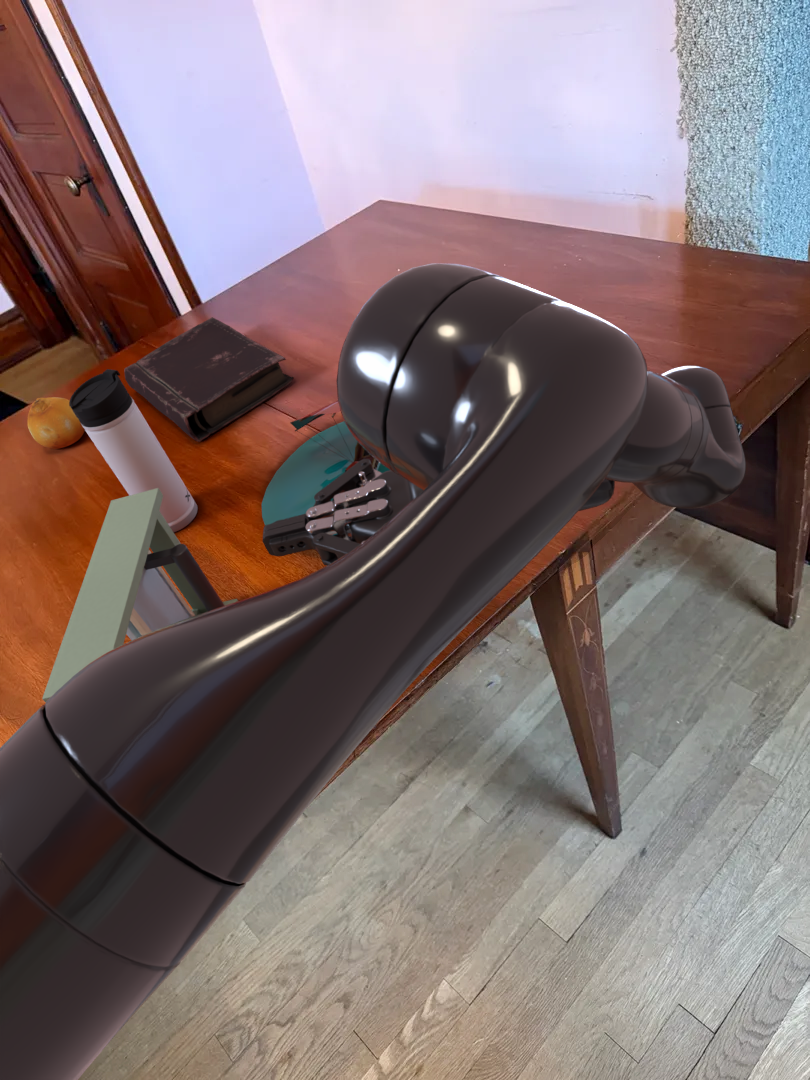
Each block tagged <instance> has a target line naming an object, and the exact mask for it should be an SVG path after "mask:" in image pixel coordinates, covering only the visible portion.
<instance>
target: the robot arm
mask: <svg viewBox="0 0 810 1080" xmlns="http://www.w3.org/2000/svg"><path fill="white" fill-rule="evenodd" d="M342 344H343V345H342V347H341V351H340V354H339V359H338V365H337V373H336V393H337V401H338V403H339V407H340V414H341V417H342V420H343V421H344V422H345V423H346V425H347V427H348V429H349V431H350V432H351V434H352V436H353V437H354V438H355V439H356V440H357V441H358V443H359V444H360V445H361V446H362V447H363V448H364V449H365V450H366V451H367V452H368V453H369V454H370V455H371V456H372V457H373V458H374V459H376V460H377V461H378V462H380V463H381V464H382V465H384V466H385V467H387V468H388V469H390V471H386V472H384V473H381V472H379V471H377V470H375V469H373V466H372V463H371V461H370V460H369V459H362V460H360V461H359V462H358V463H356V464H355V465H354V466H352V467H351V468H350V469H348V470H347V471H346V472H344V473H343V474H342V475H340V476H339V477H338V478H336V479H335V480H334V481H332V482H331V483H330V484H328V485H327V486H326V487H324V488H323V489H322V490H320V491H319V492H318V493H316V494H315V496H314V499H315V501H316V502H315V504H314V506H313V507H311V508H309V509H308V510H307V512H306V514H302V515H298V516H294V517H290V518H286V519H284V520H283V519H282V520H278V521H276V522H274V523H272V524H268V525H266V526H265V525H264V526H263V531H262V540H261V541H262V544H263V545H264V547H265V549H266V551H267V553H268V554H269V556H273V557H284V556H285V557H286V556H288V555H292V554H297V553H301V552H304V551H305V552H306V551H309V550H315V551H316V552H317V553H318V555H319V557H320V561H321V562H322V564H323V565H324V566H323V567H322V568H319V569H318V570H316V571H313V572H312V573H309V574H307V575H305V576H304V577H301V578H299V579H297V580H295V581H291V582H289V583H287V584H286V583H285V584H284V585H282V586H278V587H276V588H273V589H270V590H268V591H265V592H262V593H259V594H256V595H253V596H250V597H246V598H244V599H241V600H238V602H235V603H232V604H229V605H226V606H223V607H220V608H217V609H214V610H211V611H208V612H205V613H202V614H199V615H196V616H193V617H190V618H188V619H185V620H182V621H179V622H176V623H174V624H171V625H168V626H166V627H163V628H160V629H158V630H155V631H152V632H150V633H147V634H145V635H142V636H140V637H138V638H136V639H134V640H130V641H128V642H126V643H125V642H124V644H123V645H121V646H119V647H117V648H115V649H113V650H111V651H109V652H107V653H105V654H104V655H102V656H101V657H99V658H97V659H96V660H94V661H93V662H91V663H90V664H88V665H87V666H86V667H84V668H83V669H82V670H81V671H79V672H78V673H77V674H75V675H74V676H73V677H72V678H71V679H70V680H69V681H68V682H66V683H65V684H64V685H63V686H62V687H61V688H60V689H59V690H58V691H57V692H56V693H54V694H53V695H52V696H51V697H50V698H49V699H48V700H47V702H44V703H45V704H42V705H41V706H40V707H39V708H38V709H37V710H36V711H35V712H34V713H33V714H32V715H31V716H30V717H29V718H27V720H26V721H25V722H24V723H23V724H22V725H21V726H20V727H19V728H18V729H17V730H16V731H15V732H14V733H13V734H12V735H11V736H10V737H9V739H7V740H6V741H5V743H3V744H2V745H1V746H0V1080H79V1079H80V1078H81V1077H82V1075H83V1074H84V1073H85V1072H86V1070H88V1068H89V1067H90V1066H91V1064H92V1063H93V1062H94V1061H95V1060H96V1059H97V1058H98V1056H99V1055H100V1054H101V1053H102V1052H103V1050H105V1048H106V1047H107V1046H108V1045H109V1044H110V1042H111V1041H112V1040H113V1039H114V1038H115V1037H116V1036H117V1034H119V1032H120V1031H121V1030H122V1029H123V1028H124V1027H125V1025H126V1024H127V1023H128V1022H129V1021H130V1020H131V1019H132V1018H133V1016H134V1015H135V1014H136V1013H137V1012H138V1011H139V1010H140V1009H141V1008H142V1006H144V1004H145V1003H146V1002H147V1001H148V1000H149V999H150V997H151V996H152V995H154V993H156V991H157V989H159V988H160V987H161V985H162V984H163V983H164V982H165V981H166V980H167V979H168V977H169V976H170V975H171V974H172V973H173V972H174V971H175V970H176V969H177V967H178V966H179V965H180V964H181V963H182V961H184V960H185V958H186V957H187V956H188V955H189V953H190V952H191V951H192V950H193V949H194V947H195V946H196V945H197V944H198V943H199V942H200V941H201V939H202V938H203V937H204V936H205V935H206V933H207V932H208V931H209V930H210V929H211V928H212V926H213V925H214V924H215V923H216V921H218V919H219V918H220V917H221V915H222V914H224V912H225V911H226V910H227V908H228V907H229V906H230V905H231V904H232V903H233V901H234V900H235V899H236V898H237V897H238V895H239V894H240V893H241V892H242V891H243V889H244V888H245V887H246V885H247V883H249V882H250V881H251V880H252V879H253V877H254V876H255V875H256V874H257V872H258V871H259V870H260V869H261V867H262V866H263V864H264V863H265V862H266V861H267V860H268V858H269V857H270V856H271V854H272V853H273V852H274V850H275V849H276V848H277V847H278V845H279V844H280V843H281V842H282V841H283V839H284V837H285V836H286V835H287V834H288V833H289V831H290V830H291V829H292V828H293V827H294V825H295V824H296V823H297V821H298V820H299V819H300V818H301V816H302V815H303V814H304V813H305V811H306V810H307V808H308V807H309V806H310V805H311V804H312V802H313V801H314V800H315V799H316V798H317V796H318V795H319V794H320V793H321V791H322V790H323V789H324V788H325V786H326V785H327V784H328V783H329V781H330V780H331V779H332V778H333V777H334V776H335V774H336V773H337V772H338V770H339V769H340V768H341V767H342V766H343V765H344V763H345V762H346V761H347V760H348V759H349V757H350V756H351V754H353V752H354V751H356V749H357V747H358V746H359V745H360V744H361V743H362V741H363V740H364V739H365V738H366V737H367V736H368V734H370V732H371V731H372V730H373V729H374V727H375V726H376V725H377V724H378V723H379V721H381V719H383V717H384V716H385V715H386V714H387V712H388V711H389V710H390V709H391V708H392V707H393V705H394V704H395V703H397V701H398V699H400V697H401V696H402V695H403V694H404V692H406V690H407V689H408V688H409V687H410V686H411V685H412V684H413V682H414V681H416V679H417V678H418V677H419V676H420V675H421V674H422V673H423V672H424V671H425V669H427V667H428V666H429V665H430V664H431V663H432V662H433V661H434V660H435V659H436V658H438V656H439V655H440V654H441V653H442V652H443V651H444V650H445V649H446V648H447V647H448V645H450V644H451V642H452V641H454V639H456V637H458V635H459V634H460V633H461V632H462V631H463V630H464V629H465V628H466V627H467V626H468V625H469V624H470V623H471V622H473V620H474V619H475V618H476V617H477V616H478V615H479V614H480V613H481V612H482V611H483V610H484V609H485V608H486V607H487V606H488V605H489V604H490V603H491V602H492V601H493V600H494V599H495V598H496V597H497V596H498V595H499V594H500V593H501V592H502V591H503V590H504V589H505V588H506V587H507V586H508V585H510V583H511V582H512V581H513V580H514V579H515V577H517V576H518V575H519V574H520V573H521V572H522V571H523V570H524V569H525V568H526V567H527V566H528V565H529V564H530V563H531V562H532V561H533V560H534V558H536V557H537V556H538V555H539V554H540V553H541V552H542V551H543V550H544V549H545V547H547V545H548V544H549V543H550V542H551V541H552V540H553V539H554V538H555V537H556V536H557V535H558V534H559V533H560V532H561V531H562V530H563V528H564V527H565V526H566V525H567V524H568V523H570V521H571V520H572V519H573V518H574V517H575V516H576V514H577V513H578V512H582V511H585V510H590V509H594V508H597V507H600V506H603V505H604V504H606V503H608V502H609V501H610V500H612V498H613V496H614V493H615V488H616V482H617V483H618V482H619V483H623V484H624V483H625V484H633V485H634V486H635V487H636V488H637V489H638V490H639V491H640V492H641V493H642V494H643V495H645V496H646V497H647V498H648V499H650V500H652V501H653V502H655V503H657V504H659V505H663V506H666V507H670V508H675V509H698V508H705V507H709V506H712V505H715V504H717V503H720V502H722V501H724V500H726V499H727V498H729V497H731V496H732V495H733V494H734V493H735V492H736V491H737V490H738V489H739V488H740V486H741V485H742V483H743V481H744V479H745V476H746V471H747V461H746V456H745V451H744V448H743V445H742V444H743V443H742V441H741V437H740V434H739V430H738V427H737V423H736V419H735V416H734V411H733V409H732V407H731V401H730V398H729V394H728V390H727V387H726V384H725V382H724V380H723V378H722V377H721V376H720V375H719V373H717V372H716V371H714V370H712V369H710V368H707V367H705V366H699V365H682V366H677V367H674V368H670V369H668V370H666V371H664V372H661V373H658V372H656V371H652V370H650V369H648V363H647V361H646V360H647V359H646V358H645V356H644V353H643V351H642V350H641V347H640V346H639V344H638V343H637V341H635V340H634V338H632V337H631V335H630V334H628V333H626V332H625V331H624V330H622V329H621V328H620V327H618V326H617V325H615V324H613V323H611V322H609V321H608V320H607V319H605V318H602V317H600V316H599V315H596V314H594V313H592V312H590V311H587V310H585V309H583V308H581V307H578V306H576V305H573V304H571V303H568V302H566V301H564V300H563V299H559V298H557V297H555V296H552V295H550V294H547V293H544V292H543V291H539V290H537V289H535V288H531V287H529V286H528V285H524V284H521V283H520V282H517V281H514V280H512V279H509V278H506V277H503V276H501V275H499V274H496V273H494V272H491V271H487V270H484V269H480V268H477V267H475V266H470V265H465V264H461V263H448V262H447V263H445V262H444V263H441V262H439V263H438V262H436V263H435V262H432V263H427V264H424V265H419V266H413V267H411V268H409V269H407V270H405V271H403V272H401V273H399V274H397V275H395V276H393V277H392V278H390V279H389V280H388V281H386V282H385V283H384V284H382V285H381V286H380V287H379V288H377V289H376V291H374V293H373V294H372V295H371V296H370V297H369V299H367V301H365V303H364V304H363V305H362V307H361V308H360V310H359V311H358V313H357V315H356V317H355V318H354V319H353V322H352V323H351V325H350V328H349V330H348V332H347V335H346V337H345V339H344V341H343V343H342ZM339 493H340V494H339ZM332 498H333V500H332V501H331V499H332ZM334 534H337V535H334Z"/></svg>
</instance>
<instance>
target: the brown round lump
mask: <svg viewBox="0 0 810 1080" xmlns="http://www.w3.org/2000/svg"><path fill="white" fill-rule="evenodd" d="M69 402H70V399H67V398H64V397H57V396H52V397H37V398H36V399H35V401H33V403H32V404H31V405H30V409H29V411H28V414H27V417H26V419H27V420H26V421H27V423H26V424H27V428H28V429H27V430H28V431H29V433H30V435H31V437H32V438H33V440H34V441H35V442H36V443H37V444H38V445H41V446H42V447H44V448H46V449H51V450H52V449H53V450H54V449H55V450H59V449H63V448H67V447H69V446H71V445H74V444H75V443H77V442H78V441H79V440H80V439H81V438H82V437H83V435H84V433H85V432H86V431H85V429H84V428H83V426H82V425H81V423H80V421H79V419H78V418H77V417H76V415H75V414H74V412H73V410H72V409H71V407H70V406H69Z"/></svg>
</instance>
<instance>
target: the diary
mask: <svg viewBox="0 0 810 1080" xmlns="http://www.w3.org/2000/svg"><path fill="white" fill-rule="evenodd" d="M286 360H287V358H286V357H284V355H283V356H282V355H281V354H280V353H277V352H275V351H274V350H272V349H270V348H268V347H266V346H264V345H263V344H260V343H259V342H257V341H255V340H253V339H251V338H249V337H247V336H246V335H244V334H242V333H241V332H240V331H238V330H237V329H235V328H233V327H232V326H230V325H228V324H227V323H225V322H223V321H220V320H219V319H217V318H215V317H214V316H212V317H210V318H208V319H206V320H204V321H202V322H200V323H199V324H196V325H195V326H194V327H192V328H189V329H187V330H186V331H184V332H182V333H180V334H179V335H176V336H175V337H174V338H172V339H170V340H168V341H166V342H165V343H164V344H162V345H160V346H158V347H157V348H155V349H154V350H152V351H151V352H149V353H148V354H146V355H144V356H143V357H141V358H140V359H138V360H137V361H135V362H134V363H132V364H130V365H128V366H126V367H125V368H124V370H123V371H124V379H125V381H126V383H127V385H128V386H129V387H130V388H131V389H132V390H134V391H135V392H136V393H138V394H139V395H140V396H142V397H143V398H144V399H145V400H146V401H147V402H149V403H150V405H152V406H153V407H154V408H155V409H156V410H157V411H159V412H160V413H162V415H164V416H165V417H166V418H168V419H169V420H170V421H172V422H173V423H174V424H175V425H176V426H177V427H179V429H180V430H181V431H183V432H184V433H185V434H186V435H187V436H189V438H191V439H193V440H194V441H196V442H198V443H200V442H202V441H203V440H205V439H206V438H207V437H209V436H210V435H211V434H212V435H213V434H214V433H216V432H217V431H219V430H220V429H222V428H223V427H225V426H227V425H229V424H231V422H233V421H235V420H237V419H238V418H240V417H242V416H243V415H245V414H246V413H248V412H249V411H251V410H252V409H254V408H255V407H257V406H259V405H261V404H262V403H264V402H265V401H267V400H269V399H270V398H271V397H273V396H274V395H276V394H277V393H279V392H280V391H281V390H282V389H284V388H285V387H287V386H289V385H290V384H291V383H292V381H293V380H294V378H295V377H294V376H290V375H288V374H286V373H284V372H283V370H282V368H281V365H280V362H284V361H286Z"/></svg>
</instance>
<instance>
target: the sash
mask: <svg viewBox="0 0 810 1080" xmlns="http://www.w3.org/2000/svg"><path fill="white" fill-rule="evenodd" d="M190 551H191V550H189V548H188V547H187V545H186V544H184V543H181V544H178V545H176V546H174V547H173V548H170V549H166V550H162V551H159V552H155V553H153V552H152V551H151V549H149V551H148V554H147V558H146V562H145V566H144V569H143V573H142V577H141V580H140V584H139V588H138V592H137V595H136V599H135V603H134V606H133V610H132V614H131V618H130V621H131V622H132V624H133V625H134V626H135V627H136V629H137V630H138V631H139V632H140V634H141V635H145V634H147V633H150V632H152V631H155V630H158V629H160V628H163V627H166V626H168V625H171V624H174V623H176V622H179V621H182V620H185V619H188V618H190V617H193V616H195V614H194V613H193V611H192V608H191V606H190V605H189V603H188V602H187V600H186V599H185V598H184V596H183V595H182V593H181V592H180V591H179V589H178V588H177V586H176V585H175V583H174V582H173V581H172V579H171V578H170V576H169V575H168V573H167V572H166V571H165V569H164V568H162V567H163V566H164V565H168V564H172V563H176V565H177V566H178V568H179V569H180V571H181V572H182V574H183V575H184V577H185V578H186V580H187V581H188V583H189V584H190V585H191V587H192V588H193V590H194V591H195V593H196V594H197V596H198V597H199V599H200V600H201V602H202V603H203V605H204V606H205V608H206V609H207V611H211V610H214V609H217V608H220V607H223V606H225V605H224V604H223V602H224V601H223V600H222V599H221V597H220V596H219V594H218V593H217V591H216V589H215V588H214V587H213V585H212V584H211V582H210V580H209V579H208V578H207V576H206V574H205V573H204V571H203V570H202V568H201V567H200V565H199V563H198V561H196V559H195V557H194V555H193V554H192V553H191V552H190Z"/></svg>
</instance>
